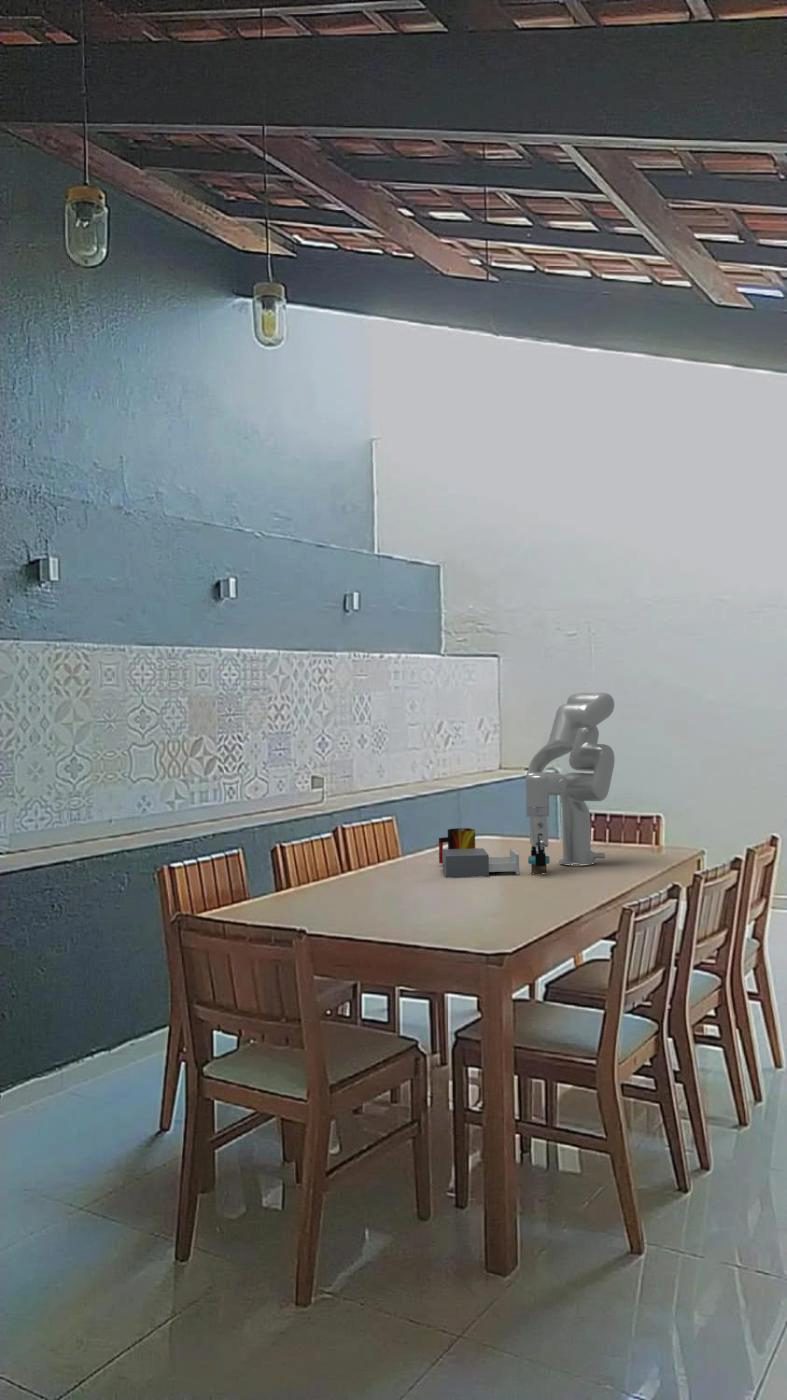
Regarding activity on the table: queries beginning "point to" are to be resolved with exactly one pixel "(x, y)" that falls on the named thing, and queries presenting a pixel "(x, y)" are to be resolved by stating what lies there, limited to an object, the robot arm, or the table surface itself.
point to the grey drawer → (505, 863)
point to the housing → (465, 862)
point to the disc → (533, 859)
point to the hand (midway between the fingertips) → (538, 863)
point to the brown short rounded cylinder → (538, 869)
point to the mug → (458, 840)
